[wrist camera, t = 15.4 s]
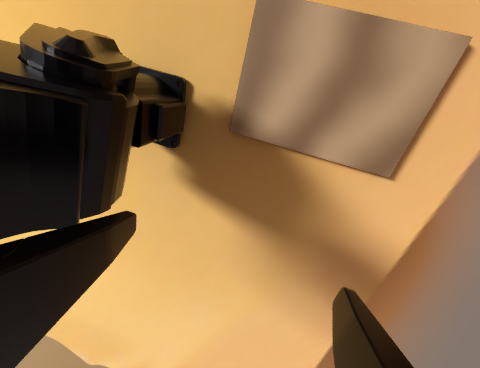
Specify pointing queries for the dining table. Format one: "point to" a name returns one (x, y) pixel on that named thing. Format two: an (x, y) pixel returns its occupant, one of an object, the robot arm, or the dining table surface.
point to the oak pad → (340, 82)
